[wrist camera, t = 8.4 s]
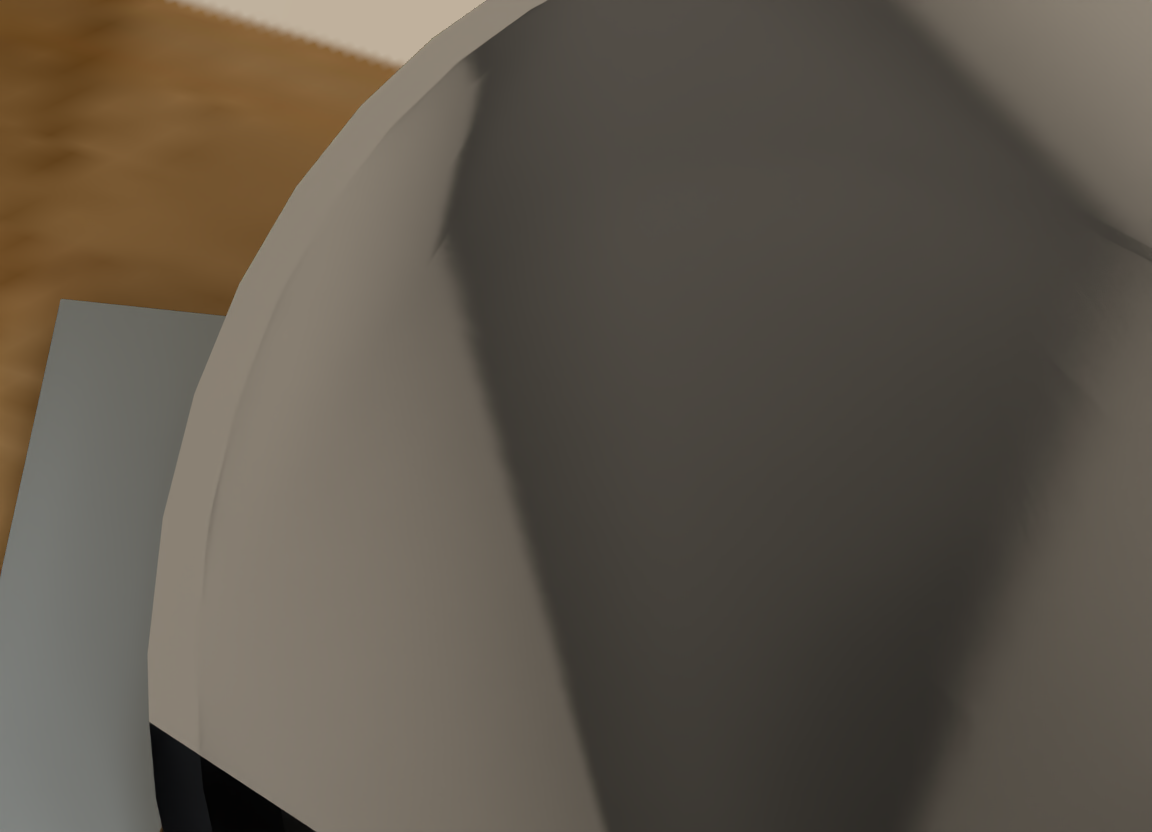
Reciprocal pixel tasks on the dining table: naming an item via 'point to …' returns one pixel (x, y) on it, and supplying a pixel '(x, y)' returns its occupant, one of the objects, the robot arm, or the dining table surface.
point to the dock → (92, 567)
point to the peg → (686, 437)
